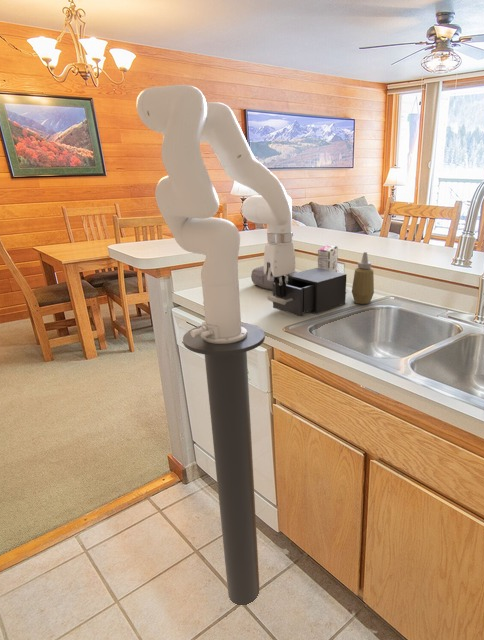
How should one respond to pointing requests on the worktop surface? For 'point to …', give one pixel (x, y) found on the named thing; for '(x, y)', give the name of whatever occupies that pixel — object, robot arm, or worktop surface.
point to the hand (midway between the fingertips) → (281, 296)
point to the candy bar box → (328, 258)
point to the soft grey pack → (261, 278)
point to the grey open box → (324, 287)
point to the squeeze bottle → (363, 282)
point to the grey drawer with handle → (295, 297)
